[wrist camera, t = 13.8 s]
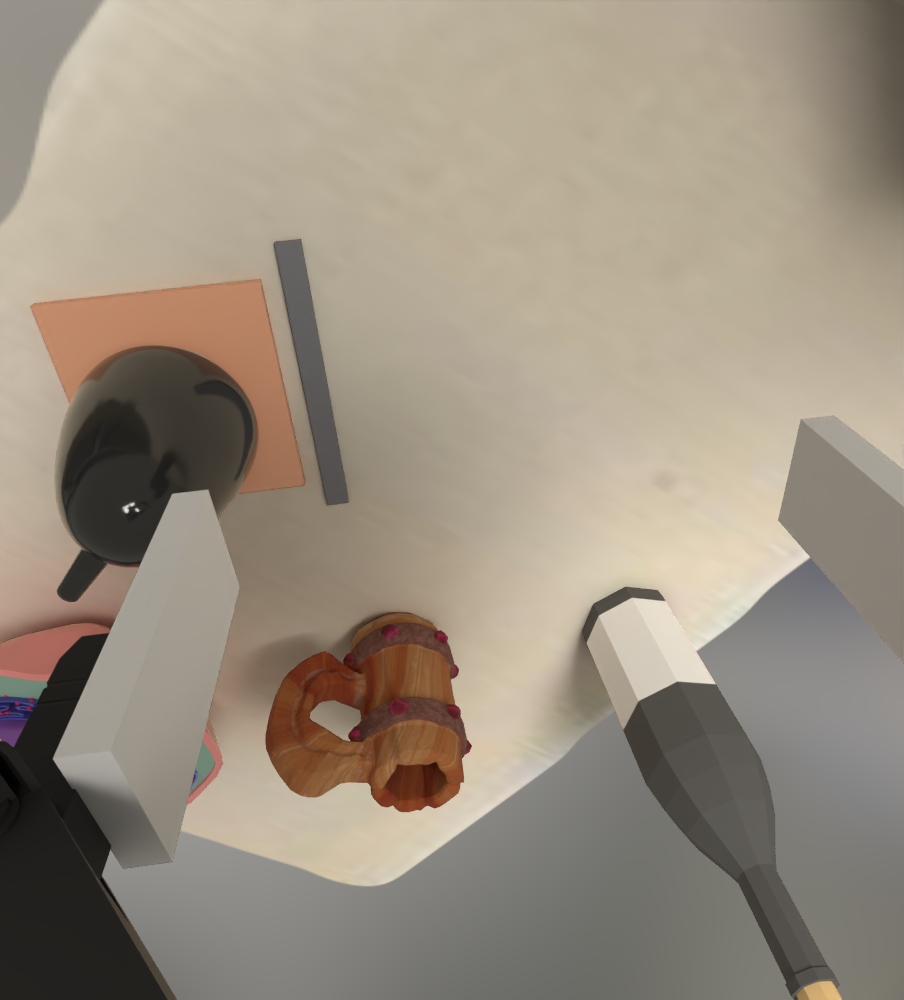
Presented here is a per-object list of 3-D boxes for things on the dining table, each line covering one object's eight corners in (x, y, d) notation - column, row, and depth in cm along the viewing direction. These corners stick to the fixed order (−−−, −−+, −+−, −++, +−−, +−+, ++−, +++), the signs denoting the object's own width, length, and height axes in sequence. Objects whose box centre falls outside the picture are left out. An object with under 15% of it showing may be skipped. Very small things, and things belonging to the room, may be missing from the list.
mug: (469, 610, 57) (504, 765, 44) (437, 679, 60) (461, 840, 48) (291, 577, 53) (275, 738, 40) (269, 654, 56) (248, 823, 44)
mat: (260, 279, 41) (259, 281, 40) (305, 480, 48) (304, 485, 48) (34, 303, 40) (30, 306, 39) (115, 505, 47) (113, 510, 47)
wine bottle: (689, 607, 60) (941, 998, 35) (627, 666, 63) (817, 1066, 38) (625, 570, 57) (850, 972, 31) (562, 634, 60) (722, 1048, 34)
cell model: (196, 759, 62) (170, 885, 52) (-54, 706, 55) (-137, 839, 45) (266, 628, 55) (250, 746, 45) (-10, 547, 48) (-98, 666, 38)
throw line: (300, 239, 40) (300, 240, 39) (348, 499, 49) (348, 502, 49) (274, 241, 40) (274, 243, 39) (327, 502, 49) (327, 505, 49)
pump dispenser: (61, 415, 43) (-59, 562, 30) (151, 288, 40) (59, 393, 27) (205, 501, 47) (154, 661, 35) (296, 394, 44) (277, 526, 31)
